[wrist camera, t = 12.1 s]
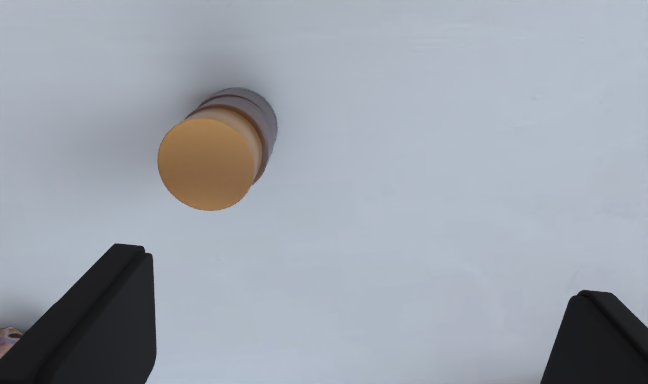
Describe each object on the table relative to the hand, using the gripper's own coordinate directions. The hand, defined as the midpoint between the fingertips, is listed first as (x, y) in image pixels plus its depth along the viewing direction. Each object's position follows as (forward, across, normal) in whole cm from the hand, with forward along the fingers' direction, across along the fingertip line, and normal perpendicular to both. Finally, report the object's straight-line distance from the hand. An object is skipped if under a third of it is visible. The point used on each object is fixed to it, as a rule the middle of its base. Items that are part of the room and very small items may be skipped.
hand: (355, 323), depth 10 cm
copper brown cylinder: (+18, +7, +2) cm, 19 cm away
